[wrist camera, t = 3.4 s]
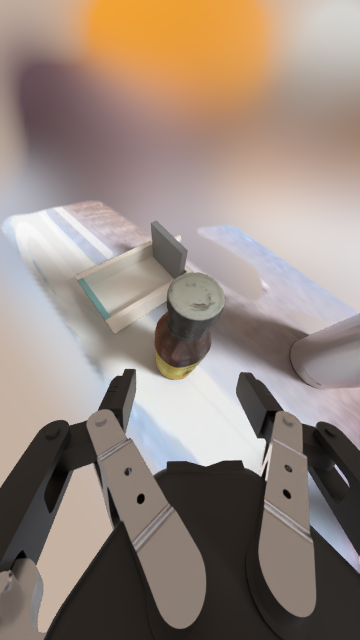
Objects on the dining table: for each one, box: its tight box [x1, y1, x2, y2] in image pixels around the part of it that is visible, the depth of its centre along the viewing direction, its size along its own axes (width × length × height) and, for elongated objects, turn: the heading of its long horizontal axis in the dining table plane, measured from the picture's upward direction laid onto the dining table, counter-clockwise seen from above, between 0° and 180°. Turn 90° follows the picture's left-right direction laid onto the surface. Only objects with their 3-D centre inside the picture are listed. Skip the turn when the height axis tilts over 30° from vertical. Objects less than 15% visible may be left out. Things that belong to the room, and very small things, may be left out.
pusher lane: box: [74, 240, 194, 334], centre depth 33 cm, size 18×12×4 cm, turn 129°
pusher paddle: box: [151, 221, 187, 279], centre depth 33 cm, size 3×9×8 cm, turn 39°
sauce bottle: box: [155, 272, 225, 380], centre depth 20 cm, size 6×6×20 cm
